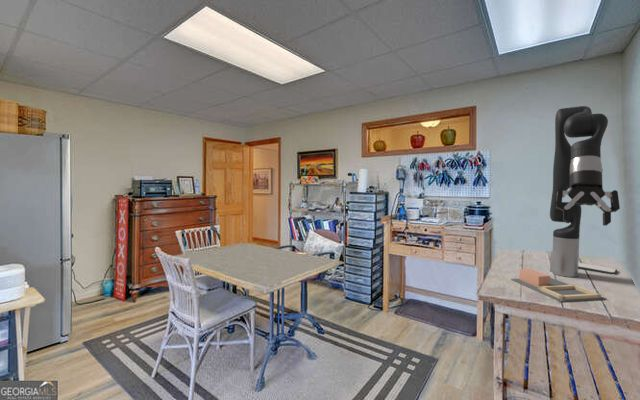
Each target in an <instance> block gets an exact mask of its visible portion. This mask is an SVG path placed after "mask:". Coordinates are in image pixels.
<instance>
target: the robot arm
mask: <svg viewBox="0 0 640 400" xmlns="http://www.w3.org/2000/svg"><path fill="white" fill-rule="evenodd" d="M554 121H555V122H554V123H555V124H554V129H555V131H554V133H555V137H554V140H555V141H554V143H555V144H554V157H553V158H554V159H553V168H552V169H553V170H552V193H551V201H550V208H549V217H550V220H551V221H552V222H557V223H565V224H569V223H570V224H569V225H568V226H567V225H566V226H565V227H561V228H557V229H554V230H553V231H552V232H553V234H552V236H553V237H552V251H550V257H549V259H550V261H549V262H550V263H549V271H550V272H551V273H552V274H554V275H557V276H561V277H568V278H569V277H570V278H576V277H578V276H579V269H578V263H579V261H580V259H579V256H580V254H579V253H580V229H581V219H582V206H584V205H585V206H595V207H596V208H597V209H599V210H600V211H602V226H604V227H605V226H607V227H608V225H609V224H610V223H611V222H612V215H611V214H612V213H615V212H618V211H619V210H620V209H621V207H620V200H619V192H618V190H615V189H614V190H612V191H604V188H603V172H604V171H603V170H604V169H603V164H602V157H601V149H602V148H601V145H602V141H603V139H604V138H603V137H604V134H605V132H606V131H607V127H608V123H609V120H608V117H607V116H606V115H605V114H603V113H593V112H592V109H591V107H589V106H587V105H583V106H582V105H581V106H574V107H573V106H571V107H564V108H560V109H558V110H557V111H556V114H555V118H554ZM567 137H568V138H573V139H574V138H587V137H589V138H587V139H583V140H579V141H576V142H574V143H573V144H572V145H571V144H570V143H569V141H568V139H567ZM566 196H568V197H569V198H570V199H571V200H569V201H568V202H567V201H563V199H564V198H565V197H566ZM604 196H605V197H607V199H608V200H610V201H609V202H610V206H609V205H607V204H606V202H605V201H604V200H603V199H602V198H603V197H604Z"/></svg>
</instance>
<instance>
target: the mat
mask: <svg viewBox="0 0 640 400" xmlns="http://www.w3.org/2000/svg"><path fill="white" fill-rule="evenodd" d="M510 280H511V281H513V282H515V283H518V284H519V285H521V286H524V287H526V288H529V289H531V290H533V291H535V292H538V293H540V294H542V295H544V296H546V297H549V298H551V299H553V300H556V301H558V302H560V303H568V302H570V303H571V302H587V301H604V300H605V299H608V298H606V297H603V296H602V294H600V293H598V292H595V291H593V290H590V289H587V288H584V287H581V286H579V285H576V284H568V283H566V282H563V281H561V280H558V279H555V278H552V277H550V286H538V287H536V286H534V285H531V284H529V283H527V282H524V281H522V280H520V279H519V278H511V279H510ZM605 301H606V300H605Z"/></svg>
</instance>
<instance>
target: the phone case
mask: <svg viewBox="0 0 640 400" xmlns="http://www.w3.org/2000/svg"><path fill="white" fill-rule="evenodd" d="M578 270H583V271H589V272H595V273H600V274H606V275H612V274H615V275H616V274H617V273H618V270H617V269H616V268H612V267H606V266H600V265H593V264H587V263H582V262H578ZM616 272H617V273H616Z"/></svg>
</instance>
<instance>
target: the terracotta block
mask: <svg viewBox="0 0 640 400" xmlns="http://www.w3.org/2000/svg"><path fill="white" fill-rule="evenodd" d="M518 273H519V275H518V276H519V278H518V279H520V280H522V281H524V282H527V283H529V284H531V285H534V286H536V287H538V286H550V278H551V275H548V274H545V273H543V272H540V271H538V270H535V269H532V268H520V269H519V272H518Z"/></svg>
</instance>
